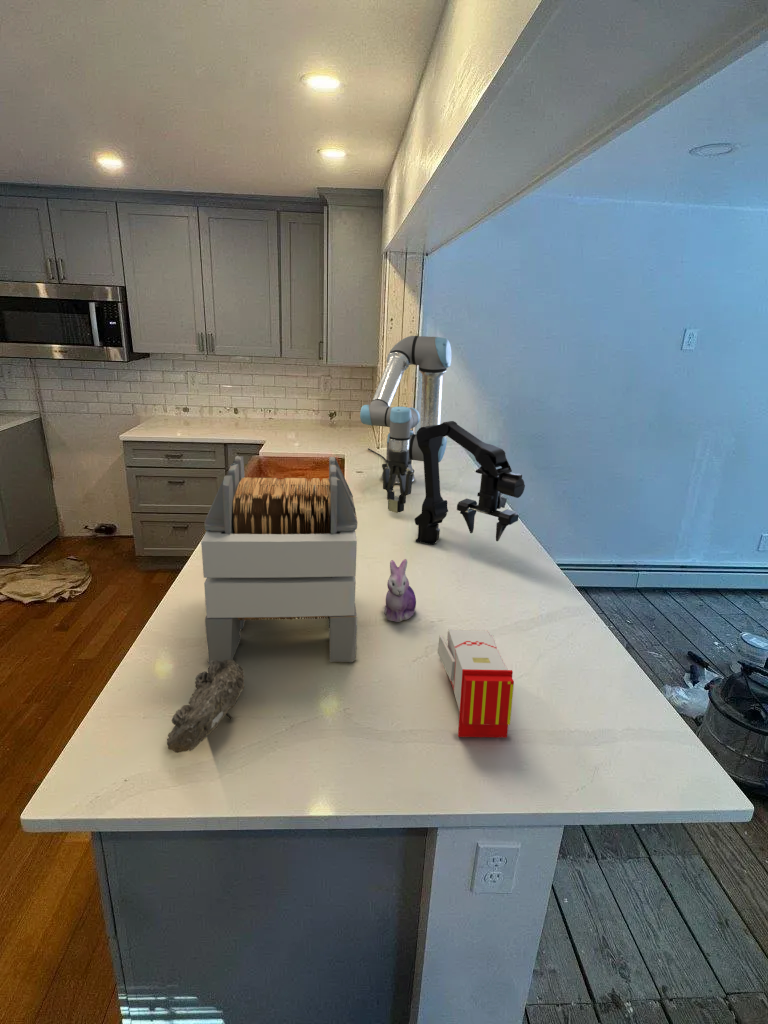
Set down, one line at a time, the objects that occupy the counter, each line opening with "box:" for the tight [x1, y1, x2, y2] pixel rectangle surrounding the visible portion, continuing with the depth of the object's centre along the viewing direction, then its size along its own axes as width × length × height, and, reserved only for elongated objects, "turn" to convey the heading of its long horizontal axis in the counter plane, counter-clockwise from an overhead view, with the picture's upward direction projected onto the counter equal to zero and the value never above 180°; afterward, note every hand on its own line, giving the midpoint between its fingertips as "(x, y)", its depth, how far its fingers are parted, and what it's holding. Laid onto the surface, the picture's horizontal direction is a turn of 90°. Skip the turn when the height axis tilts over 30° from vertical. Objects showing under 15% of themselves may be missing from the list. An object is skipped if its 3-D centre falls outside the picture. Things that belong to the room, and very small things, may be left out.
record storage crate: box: [200, 455, 358, 666], centre depth 133 cm, size 34×33×41 cm
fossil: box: [166, 659, 245, 754], centre depth 106 cm, size 22×10×15 cm
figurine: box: [384, 558, 417, 623], centre depth 145 cm, size 9×10×15 cm
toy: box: [437, 628, 515, 738], centre depth 117 cm, size 12×13×30 cm
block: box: [388, 495, 399, 514], centre depth 215 cm, size 4×4×5 cm
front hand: (484, 536), depth 178 cm, fingers open, 9 cm apart
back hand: (395, 509), depth 216 cm, fingers closed on block, 4 cm apart
